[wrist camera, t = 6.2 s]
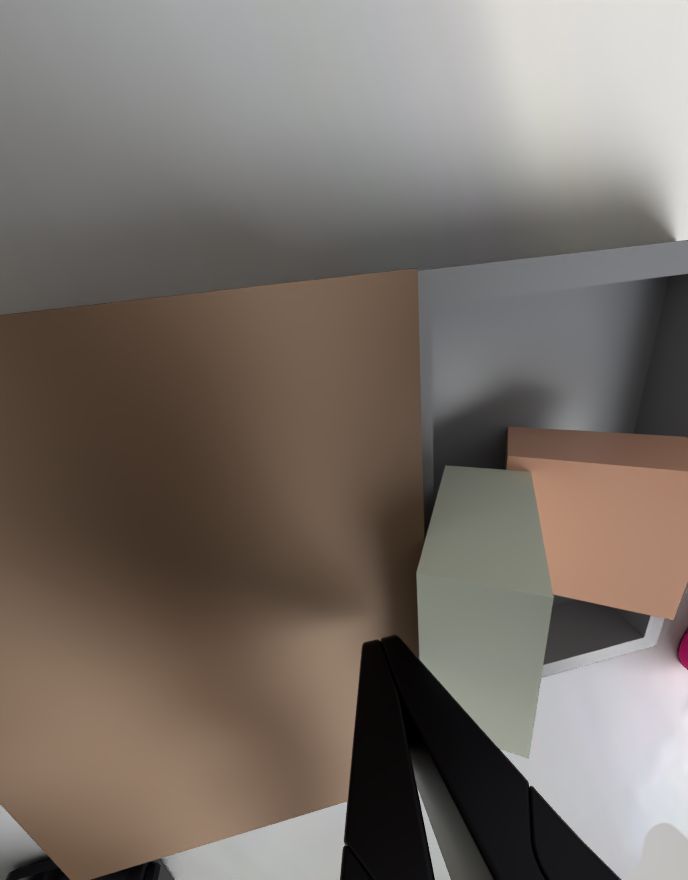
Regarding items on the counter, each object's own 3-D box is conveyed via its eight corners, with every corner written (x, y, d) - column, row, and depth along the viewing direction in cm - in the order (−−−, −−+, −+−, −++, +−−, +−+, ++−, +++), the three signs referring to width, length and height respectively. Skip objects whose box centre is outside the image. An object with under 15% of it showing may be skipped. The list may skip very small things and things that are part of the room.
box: (393, 645, 17) (417, 712, 14) (365, 279, 11) (397, 273, 8) (598, 594, 18) (655, 646, 16) (678, 242, 12) (795, 227, 9)
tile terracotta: (673, 620, 11) (647, 564, 13) (727, 474, 9) (686, 436, 11) (494, 581, 13) (497, 538, 15) (507, 455, 11) (508, 426, 13)
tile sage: (421, 721, 9) (528, 758, 8) (416, 572, 7) (553, 598, 7) (444, 583, 14) (517, 597, 13) (445, 465, 12) (530, 471, 11)
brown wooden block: (132, 711, 16) (74, 884, 11) (-75, 329, 9) (-410, 361, 5) (387, 647, 17) (430, 775, 12) (356, 280, 11) (417, 267, 6)
